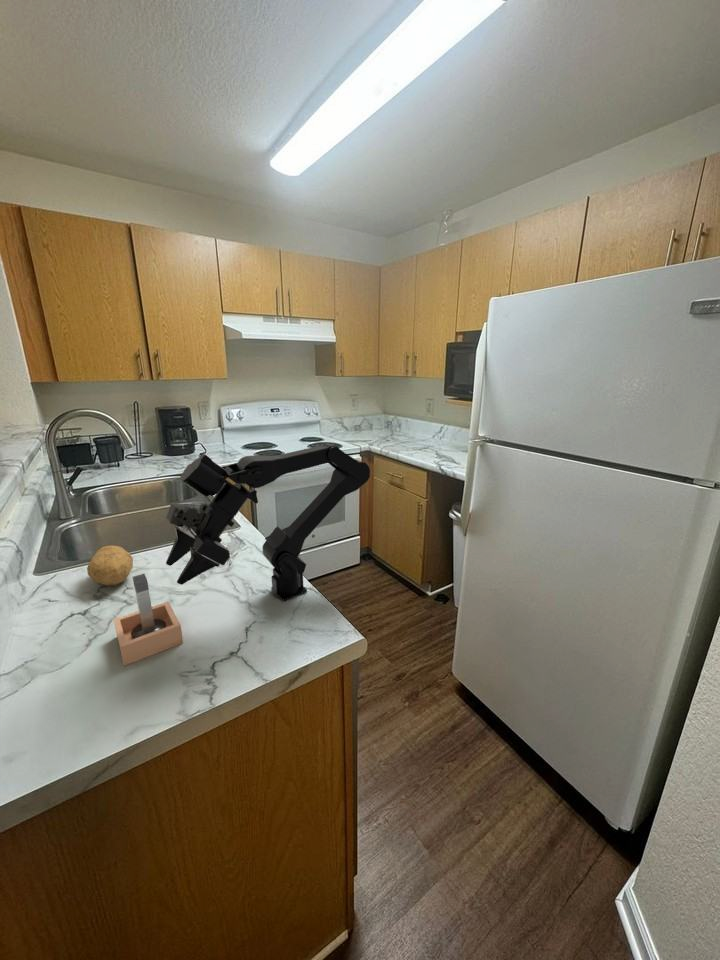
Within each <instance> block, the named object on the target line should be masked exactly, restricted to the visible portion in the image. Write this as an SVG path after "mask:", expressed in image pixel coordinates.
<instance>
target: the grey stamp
mask: <svg viewBox="0 0 720 960" xmlns="http://www.w3.org/2000/svg"><path fill="white" fill-rule="evenodd" d="M132 582H133V587H134V592H135V597H136V598H135V599H136V605H137V608H138V611H139V614H140V620H141V623H140V624H138V625H137V626H136V627H134V628H133V630H132V631H131V637H132V639H135V638H138V637H141V636H143V635H146V634H149V633H152V632H155V631H157V630H160V629H163V628H166V623H165V621H163V620H161V619H154V618H153V612H152V607H153V606H152V601H151V596H150V591H149V589H150V588H149V583H148V582H149V581H148V579H147V577H146V574H145V573H142V574H138V575H137V574H136V575H135V576H132Z"/></svg>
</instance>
